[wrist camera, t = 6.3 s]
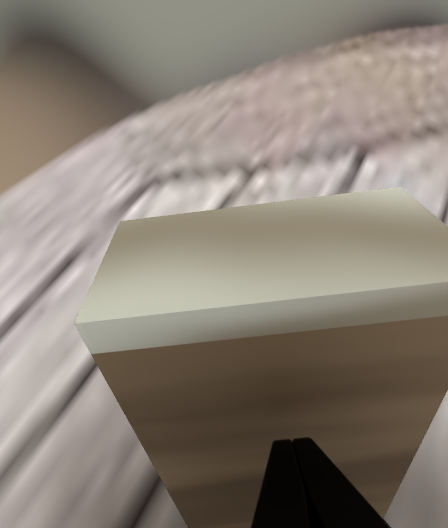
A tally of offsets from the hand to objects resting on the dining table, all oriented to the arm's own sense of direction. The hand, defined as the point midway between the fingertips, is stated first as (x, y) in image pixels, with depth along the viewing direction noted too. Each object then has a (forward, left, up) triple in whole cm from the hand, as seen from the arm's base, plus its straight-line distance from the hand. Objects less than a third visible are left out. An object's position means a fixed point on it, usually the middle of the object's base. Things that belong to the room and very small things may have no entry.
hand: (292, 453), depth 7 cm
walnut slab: (-1, +1, -8) cm, 8 cm away
